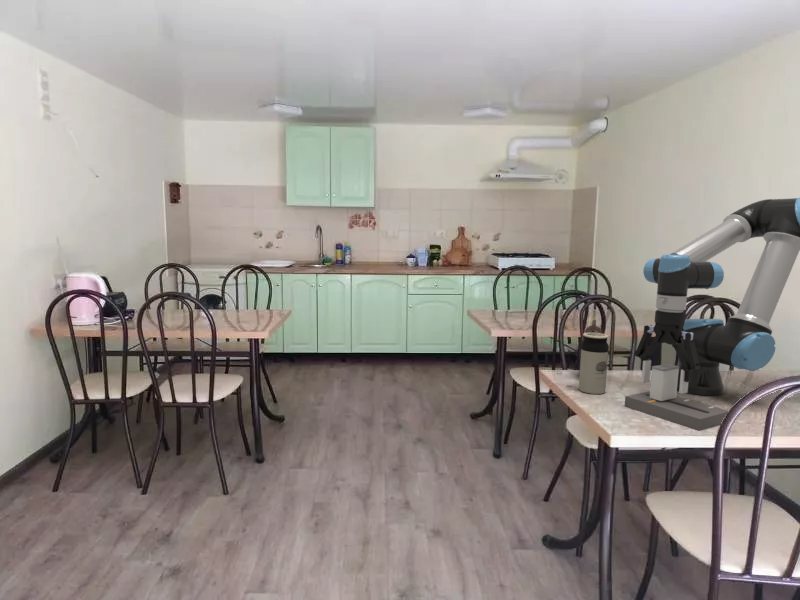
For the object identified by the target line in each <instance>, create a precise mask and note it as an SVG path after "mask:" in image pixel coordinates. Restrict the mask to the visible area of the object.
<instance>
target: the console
mask: <svg viewBox="0 0 800 600" xmlns="http://www.w3.org/2000/svg"><path fill="white" fill-rule="evenodd" d="M624 407H626V408H629V409H632V410H635V411H638V412H642V413H644V414H647V415H650V416H653V417H656V418H660V419H663V420H666V421H669V422H672V423H675V424H678V425H680V426H684V427H686V428H689V429H693V430H696V431H703V430H706V429H709V428H713V427H716V426H720V424H721V422H722V420H723V418H724V417H725V415H726V414H727V413H728V411H729V410H728V409H725V408H720V407H718V406H714V405H709V404H706V403H703V402H700V401H695V400H693V399H689V398H686V397H681V396H678V395H676V398H673V399H668V400H664V401H659V400H656V399H652V398H650V390H649V391H644V392H639V393H635V394H628V395H625V396H624ZM721 425H722V424H721Z"/></svg>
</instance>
